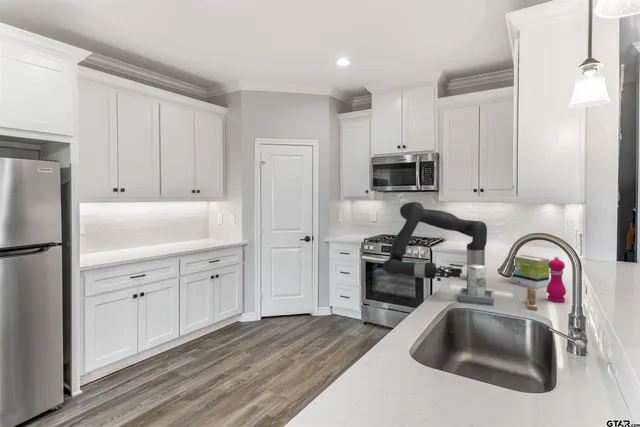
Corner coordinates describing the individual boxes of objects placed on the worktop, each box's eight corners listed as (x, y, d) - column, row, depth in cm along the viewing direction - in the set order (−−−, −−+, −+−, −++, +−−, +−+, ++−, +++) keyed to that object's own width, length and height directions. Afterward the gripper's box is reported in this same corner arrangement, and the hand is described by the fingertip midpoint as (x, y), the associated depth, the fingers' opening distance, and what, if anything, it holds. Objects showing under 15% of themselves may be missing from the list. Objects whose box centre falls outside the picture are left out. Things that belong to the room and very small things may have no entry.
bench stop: (525, 300, 157) (526, 283, 157) (533, 301, 156) (533, 284, 156) (528, 309, 145) (528, 291, 144) (537, 310, 143) (537, 292, 143)
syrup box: (476, 294, 164) (476, 264, 163) (486, 298, 158) (486, 266, 157) (466, 296, 162) (466, 264, 161) (476, 299, 156) (476, 267, 155)
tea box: (509, 282, 190) (510, 255, 189) (522, 280, 194) (522, 254, 193) (537, 289, 176) (537, 259, 176) (549, 286, 180) (550, 258, 180)
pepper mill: (559, 298, 160) (560, 254, 159) (569, 303, 153) (570, 257, 152) (543, 298, 160) (543, 254, 160) (551, 302, 153) (552, 257, 152)
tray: (461, 293, 169) (461, 287, 169) (493, 297, 163) (493, 290, 163) (458, 301, 157) (458, 295, 157) (493, 305, 150) (493, 298, 150)
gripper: (422, 265, 163) (460, 267, 156) (427, 260, 175) (462, 262, 168) (422, 281, 163) (459, 284, 156) (427, 274, 176) (462, 277, 169)
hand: (461, 273), depth 162 cm, fingers open, 8 cm apart
